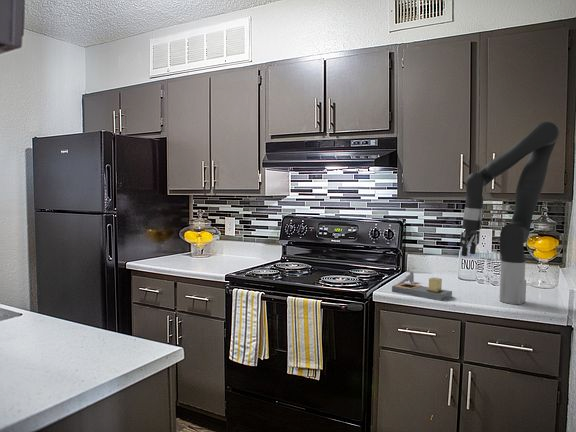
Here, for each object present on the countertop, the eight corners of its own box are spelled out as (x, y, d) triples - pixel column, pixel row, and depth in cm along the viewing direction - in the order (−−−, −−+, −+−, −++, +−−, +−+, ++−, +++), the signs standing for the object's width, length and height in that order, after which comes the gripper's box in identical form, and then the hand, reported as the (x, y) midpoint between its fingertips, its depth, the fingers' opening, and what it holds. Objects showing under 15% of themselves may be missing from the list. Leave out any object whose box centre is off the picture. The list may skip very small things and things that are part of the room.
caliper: (411, 282, 236) (412, 270, 235) (413, 282, 235) (414, 270, 235) (392, 288, 220) (392, 275, 220) (394, 289, 220) (394, 275, 219)
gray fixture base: (451, 296, 204) (452, 290, 204) (441, 300, 197) (441, 294, 197) (403, 288, 221) (403, 282, 221) (391, 291, 214) (392, 285, 214)
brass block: (441, 296, 205) (441, 278, 204) (436, 298, 202) (437, 280, 201) (432, 295, 207) (433, 277, 207) (428, 296, 205) (428, 278, 204)
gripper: (474, 220, 195) (469, 258, 197) (487, 218, 205) (483, 254, 207) (456, 218, 200) (452, 255, 202) (470, 216, 210) (466, 251, 212)
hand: (468, 255), depth 204 cm, fingers open, 8 cm apart
